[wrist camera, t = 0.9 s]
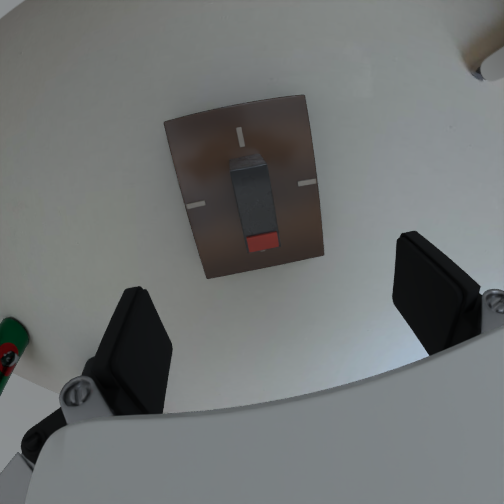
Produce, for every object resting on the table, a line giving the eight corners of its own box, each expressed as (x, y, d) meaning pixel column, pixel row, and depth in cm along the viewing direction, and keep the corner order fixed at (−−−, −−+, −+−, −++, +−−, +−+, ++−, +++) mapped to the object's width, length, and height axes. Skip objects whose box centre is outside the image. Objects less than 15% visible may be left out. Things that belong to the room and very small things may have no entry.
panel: (171, 120, 21) (162, 122, 18) (295, 95, 21) (305, 94, 18) (208, 262, 27) (206, 280, 24) (315, 240, 27) (325, 256, 24)
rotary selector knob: (228, 159, 20) (229, 171, 16) (259, 153, 20) (267, 164, 16) (243, 229, 22) (247, 255, 19) (272, 223, 22) (282, 248, 19)
